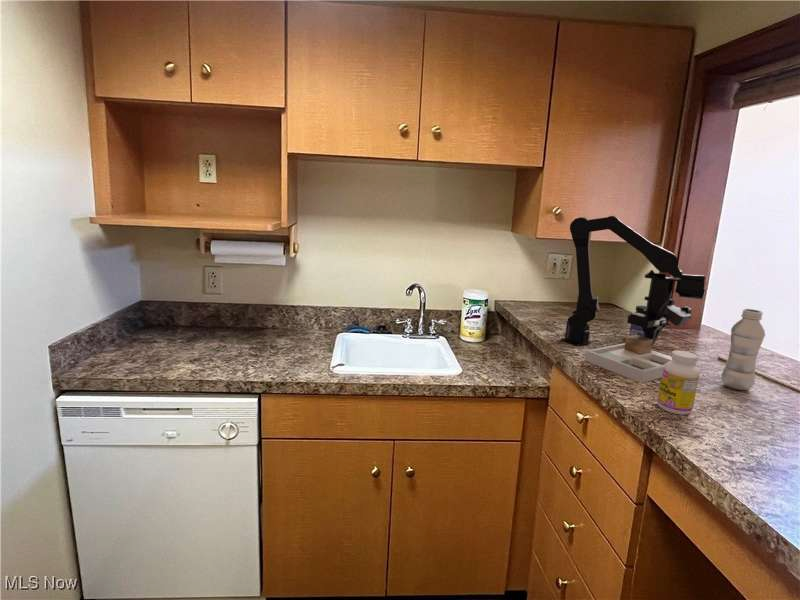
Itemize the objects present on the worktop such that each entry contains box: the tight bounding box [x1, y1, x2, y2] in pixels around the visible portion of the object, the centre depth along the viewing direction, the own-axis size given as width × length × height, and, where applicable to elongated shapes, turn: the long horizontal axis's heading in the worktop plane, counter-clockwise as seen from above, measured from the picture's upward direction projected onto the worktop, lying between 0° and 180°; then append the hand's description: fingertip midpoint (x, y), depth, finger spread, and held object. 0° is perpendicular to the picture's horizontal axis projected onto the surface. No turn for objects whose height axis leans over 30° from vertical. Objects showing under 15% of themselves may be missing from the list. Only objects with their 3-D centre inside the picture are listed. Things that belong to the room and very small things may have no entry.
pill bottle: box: [628, 305, 647, 337], centre depth 148 cm, size 6×6×11 cm
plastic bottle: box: [720, 308, 766, 391], centre depth 109 cm, size 6×7×20 cm
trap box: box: [584, 342, 672, 384], centre depth 124 cm, size 17×22×3 cm
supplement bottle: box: [656, 349, 701, 416], centre depth 97 cm, size 7×7×13 cm
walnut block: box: [624, 335, 653, 355], centre depth 129 cm, size 5×5×4 cm
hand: (650, 345), depth 133 cm, fingers closed
